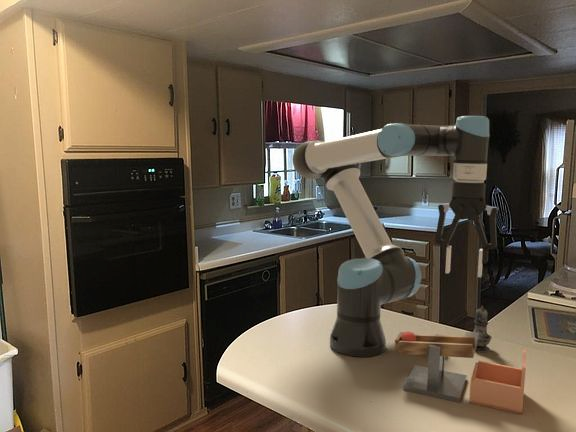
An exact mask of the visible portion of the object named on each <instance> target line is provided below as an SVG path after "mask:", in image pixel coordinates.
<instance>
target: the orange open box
mask: <svg viewBox="0 0 576 432" xmlns="http://www.w3.org/2000/svg"><path fill="white" fill-rule="evenodd" d="M521 362H522V363H521V368H520V367H514V366H509V365H504V364H498V363H494V362H488V361H484V360H478V362H476V361H475V363H474V366H473V371H472V373H471V378H470V387H469V400H468V401H469V402H468V403H470V404H474V405H478V406H483V407H487V408H492V409H496V410H501V411H505V412H510V413H512V414H513V413H514V414H519V415H523V408H524V407H523V406H524V405H523V404H524V396H525V395H524V393H525V381H526V380H525V379H526V367H527V349H523V351H522V360H521Z"/></svg>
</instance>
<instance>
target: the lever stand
mask: <svg viewBox="0 0 576 432" xmlns="http://www.w3.org/2000/svg"><path fill="white" fill-rule="evenodd" d="M434 335H439V334H437V333H436V334H434ZM445 359H446V356H441V346H435V345H429V355H428V363H427V367H426V366H423V365H418V364H414V366H413V368H412V369H411V371H410V373H409V374H408V377H407V378H406V380H405V382H404V384H403V386H402V387H403V388H402V390H403V391H407V392H410V393H415V394H420V395H425V396H429V397H434V398H439V399H443V400H447V401H452V402H456V403H460V402H461V399H462V395H463V392H464V388H465V385H466V381H467V374H461V373H456V372H452V371H447V370H445Z"/></svg>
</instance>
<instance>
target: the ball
mask: <svg viewBox="0 0 576 432" xmlns="http://www.w3.org/2000/svg"><path fill="white" fill-rule="evenodd" d="M403 332H404V333H403V334H402V336H401V341H416V336H415V334H416V333H414V332H412V331H410V330H409V331H403Z"/></svg>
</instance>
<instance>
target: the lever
mask: <svg viewBox="0 0 576 432" xmlns="http://www.w3.org/2000/svg"><path fill="white" fill-rule="evenodd" d="M404 332H405V331H400V332H399V333H398V335H397V336H396V337H395V339H394V347H395V351H399V354H400V355H419V356H429V345H435V346H441V356H445V357H450V358H467V359H474V356H475V353H476V351H475V350H476V347H477V343H478V340H479V333H473V332H474V331H472V332H469V331H467V332H465V334H464V336H463V335H447V334H446V335H445V334H444V335H443V334H438V335H435V334H417V333H414V334H415V336H416V341H401V336H402V334H403V333H404Z"/></svg>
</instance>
